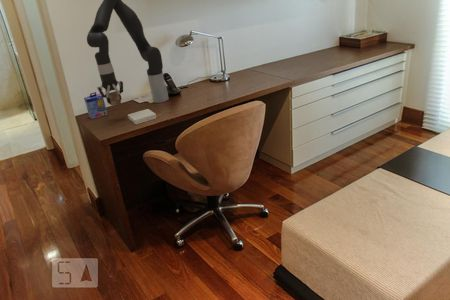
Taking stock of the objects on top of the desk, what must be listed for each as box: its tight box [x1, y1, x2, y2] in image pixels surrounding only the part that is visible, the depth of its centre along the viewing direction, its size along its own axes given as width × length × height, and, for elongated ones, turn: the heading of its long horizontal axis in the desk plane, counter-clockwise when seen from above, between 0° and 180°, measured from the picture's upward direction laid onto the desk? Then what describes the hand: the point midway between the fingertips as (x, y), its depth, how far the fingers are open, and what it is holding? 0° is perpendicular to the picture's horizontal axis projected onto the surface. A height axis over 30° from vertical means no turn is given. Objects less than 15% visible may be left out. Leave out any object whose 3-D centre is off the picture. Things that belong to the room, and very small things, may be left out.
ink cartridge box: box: [83, 91, 108, 120], centre depth 209 cm, size 10×6×14 cm, turn 127°
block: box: [109, 90, 122, 107], centre depth 197 cm, size 5×5×6 cm
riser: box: [127, 108, 157, 125], centre depth 199 cm, size 12×12×3 cm
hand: (114, 102), depth 197 cm, fingers closed on block, 5 cm apart
